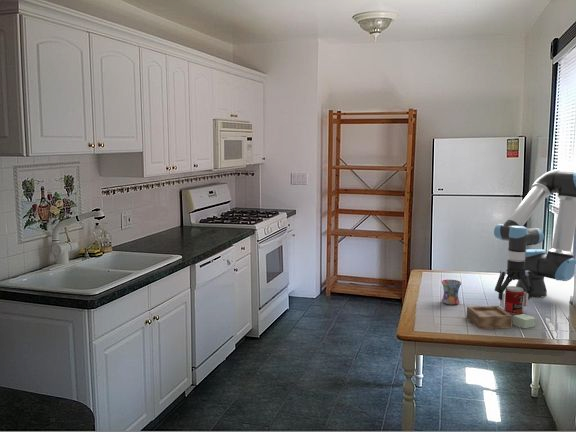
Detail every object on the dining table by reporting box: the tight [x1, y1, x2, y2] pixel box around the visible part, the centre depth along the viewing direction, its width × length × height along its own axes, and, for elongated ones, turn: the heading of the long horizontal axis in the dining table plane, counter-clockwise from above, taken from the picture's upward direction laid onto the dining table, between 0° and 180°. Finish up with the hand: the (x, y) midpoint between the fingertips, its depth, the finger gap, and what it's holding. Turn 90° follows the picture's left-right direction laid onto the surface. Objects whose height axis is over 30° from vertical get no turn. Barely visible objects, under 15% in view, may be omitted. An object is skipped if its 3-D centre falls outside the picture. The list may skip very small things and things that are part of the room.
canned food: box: [503, 285, 524, 315], centre depth 254 cm, size 8×8×11 cm
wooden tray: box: [466, 305, 513, 329], centre depth 238 cm, size 14×14×5 cm
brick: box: [513, 313, 536, 329], centre depth 235 cm, size 6×6×4 cm
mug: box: [441, 279, 462, 306], centre depth 267 cm, size 12×9×11 cm
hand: (513, 306), depth 254 cm, fingers open, 10 cm apart
